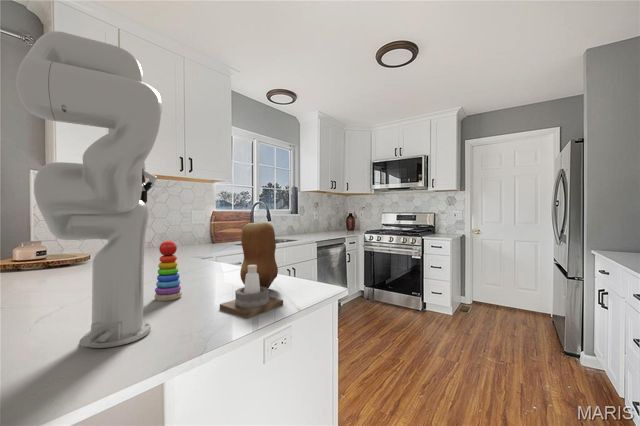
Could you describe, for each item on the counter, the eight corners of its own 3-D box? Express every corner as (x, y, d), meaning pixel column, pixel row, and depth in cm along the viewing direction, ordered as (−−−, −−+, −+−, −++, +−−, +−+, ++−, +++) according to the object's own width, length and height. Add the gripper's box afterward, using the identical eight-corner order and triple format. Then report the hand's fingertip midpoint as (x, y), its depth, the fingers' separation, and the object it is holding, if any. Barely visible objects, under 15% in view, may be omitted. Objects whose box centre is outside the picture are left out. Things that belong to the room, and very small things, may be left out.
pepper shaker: (253, 298, 89) (254, 263, 89) (265, 301, 86) (265, 265, 86) (238, 302, 85) (239, 265, 85) (250, 306, 82) (250, 267, 82)
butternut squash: (239, 287, 108) (240, 221, 108) (275, 285, 112) (275, 221, 112) (240, 298, 94) (241, 222, 94) (281, 294, 98) (281, 222, 98)
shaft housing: (247, 318, 76) (247, 299, 76) (219, 309, 83) (219, 292, 83) (282, 304, 88) (283, 288, 88) (256, 297, 95) (256, 282, 95)
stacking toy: (186, 295, 97) (187, 240, 97) (172, 302, 89) (172, 242, 89) (164, 294, 98) (165, 239, 98) (148, 301, 90) (149, 241, 90)
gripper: (82, 140, 77) (81, 204, 77) (149, 143, 79) (149, 205, 79) (100, 146, 84) (100, 204, 85) (162, 148, 86) (161, 205, 86)
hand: (124, 204), depth 82 cm, fingers open, 9 cm apart
